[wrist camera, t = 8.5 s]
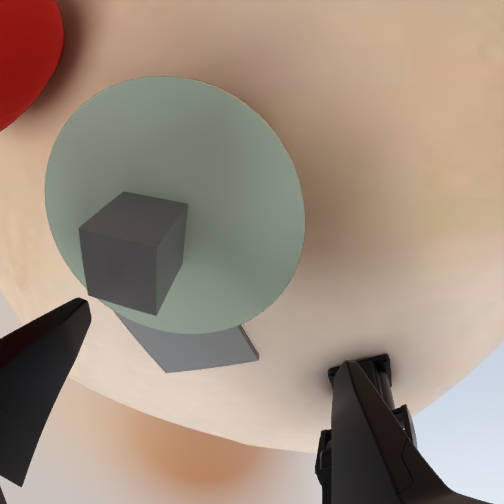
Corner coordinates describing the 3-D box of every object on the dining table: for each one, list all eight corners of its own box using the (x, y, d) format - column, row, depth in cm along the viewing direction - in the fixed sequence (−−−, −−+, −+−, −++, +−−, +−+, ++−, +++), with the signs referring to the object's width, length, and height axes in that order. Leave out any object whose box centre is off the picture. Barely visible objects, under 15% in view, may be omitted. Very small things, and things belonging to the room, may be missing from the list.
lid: (340, 109, 10) (374, 120, 6) (265, 342, 17) (259, 407, 13) (57, 77, 10) (-11, 88, 6) (70, 289, 17) (34, 336, 13)
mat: (258, 355, 27) (258, 360, 27) (167, 368, 30) (165, 372, 30) (205, 265, 22) (204, 270, 22) (107, 295, 25) (105, 299, 25)
